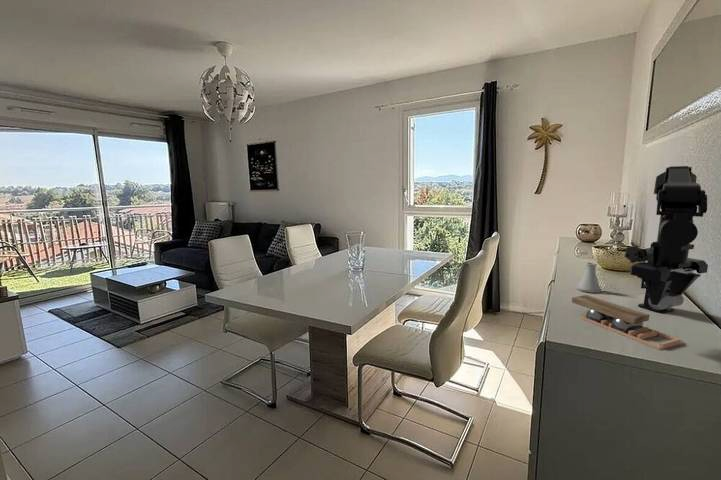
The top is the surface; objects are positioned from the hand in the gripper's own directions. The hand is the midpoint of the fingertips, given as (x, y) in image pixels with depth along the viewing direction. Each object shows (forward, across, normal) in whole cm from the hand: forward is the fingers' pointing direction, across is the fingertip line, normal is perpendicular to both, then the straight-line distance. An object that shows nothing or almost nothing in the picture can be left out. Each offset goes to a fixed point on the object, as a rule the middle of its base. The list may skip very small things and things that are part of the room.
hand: (664, 302), depth 82 cm
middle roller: (+10, 0, -7) cm, 12 cm away
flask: (+10, -22, -34) cm, 42 cm away
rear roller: (+10, 0, -14) cm, 17 cm away
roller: (+1, 0, 0) cm, 1 cm away
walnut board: (+7, 0, -13) cm, 14 cm away
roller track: (+10, 0, -7) cm, 12 cm away
